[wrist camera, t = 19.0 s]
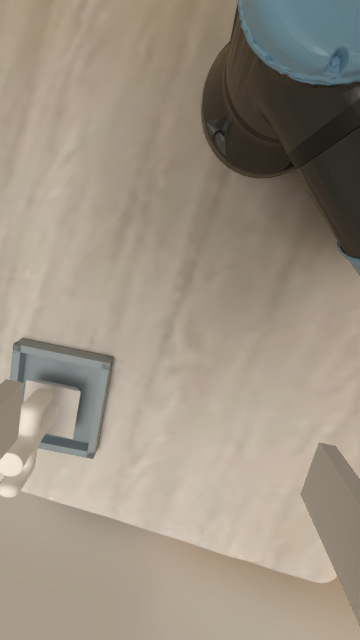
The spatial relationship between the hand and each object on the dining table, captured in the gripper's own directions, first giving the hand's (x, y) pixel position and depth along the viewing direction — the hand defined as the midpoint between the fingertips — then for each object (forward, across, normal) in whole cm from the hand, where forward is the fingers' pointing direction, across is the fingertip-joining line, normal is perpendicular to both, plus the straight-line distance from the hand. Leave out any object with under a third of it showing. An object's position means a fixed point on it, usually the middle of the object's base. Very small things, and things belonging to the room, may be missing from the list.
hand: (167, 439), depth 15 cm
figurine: (+31, -14, -17) cm, 38 cm away
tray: (+32, -14, -17) cm, 39 cm away
